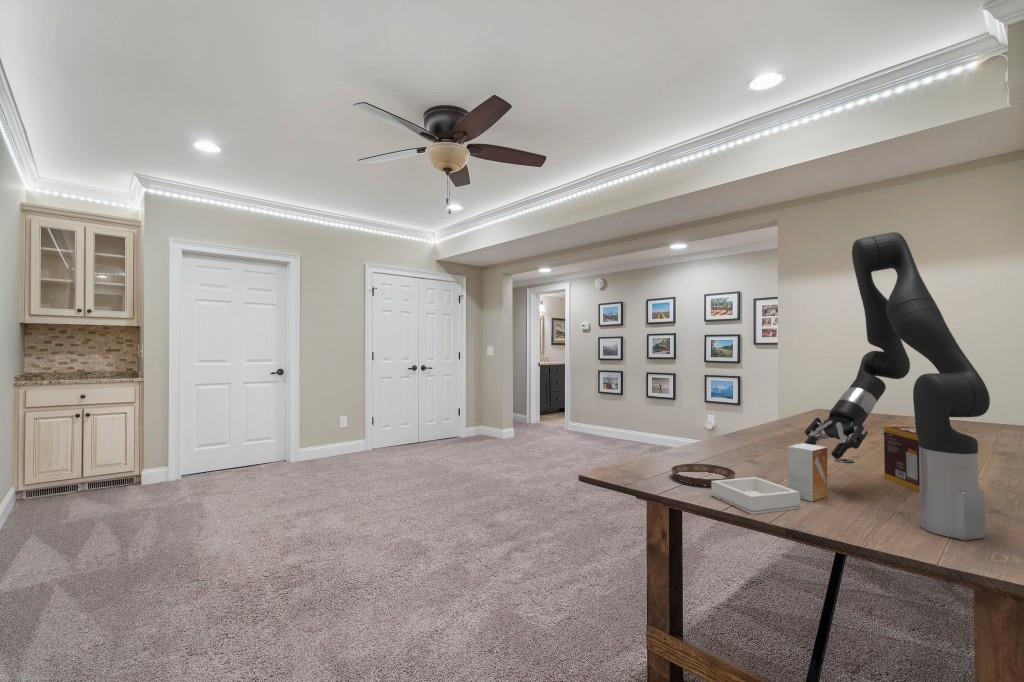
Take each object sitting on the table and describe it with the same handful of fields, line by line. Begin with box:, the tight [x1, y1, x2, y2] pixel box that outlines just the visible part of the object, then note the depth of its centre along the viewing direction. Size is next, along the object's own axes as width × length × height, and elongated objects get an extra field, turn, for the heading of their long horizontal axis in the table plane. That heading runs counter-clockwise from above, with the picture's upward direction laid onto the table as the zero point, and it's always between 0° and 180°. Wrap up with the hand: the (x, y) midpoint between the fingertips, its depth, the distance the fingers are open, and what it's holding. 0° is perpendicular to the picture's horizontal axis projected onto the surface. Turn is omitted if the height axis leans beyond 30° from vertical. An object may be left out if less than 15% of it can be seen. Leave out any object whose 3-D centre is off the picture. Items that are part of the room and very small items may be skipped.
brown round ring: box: [670, 463, 737, 487], centre depth 140 cm, size 18×18×3 cm
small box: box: [787, 442, 828, 502], centre depth 124 cm, size 8×6×13 cm
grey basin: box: [710, 476, 801, 515], centre depth 120 cm, size 14×14×4 cm
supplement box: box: [883, 425, 920, 493], centre depth 134 cm, size 10×15×16 cm
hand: (819, 453), depth 125 cm, fingers open, 8 cm apart
